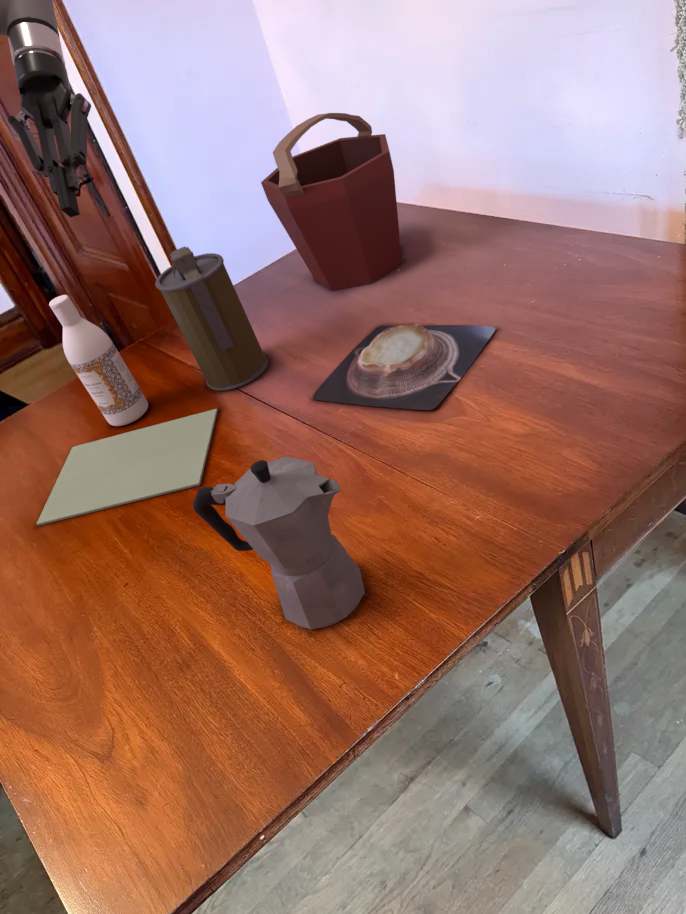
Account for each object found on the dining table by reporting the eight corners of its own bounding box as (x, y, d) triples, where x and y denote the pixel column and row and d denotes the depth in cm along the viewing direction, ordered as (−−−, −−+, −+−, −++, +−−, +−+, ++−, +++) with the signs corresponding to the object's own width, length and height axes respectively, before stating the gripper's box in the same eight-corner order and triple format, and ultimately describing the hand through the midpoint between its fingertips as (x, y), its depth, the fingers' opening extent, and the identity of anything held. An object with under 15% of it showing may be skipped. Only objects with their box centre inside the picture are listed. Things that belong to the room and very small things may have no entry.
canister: (201, 373, 123) (141, 257, 109) (259, 346, 124) (206, 229, 111) (214, 401, 115) (152, 279, 101) (276, 372, 116) (222, 249, 103)
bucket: (344, 310, 125) (290, 155, 109) (272, 289, 140) (215, 149, 123) (444, 243, 134) (409, 90, 118) (367, 229, 149) (326, 91, 132)
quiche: (498, 329, 108) (493, 304, 105) (434, 413, 97) (427, 387, 94) (379, 325, 118) (371, 302, 116) (309, 400, 107) (299, 377, 105)
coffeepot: (393, 560, 79) (339, 424, 67) (373, 631, 73) (310, 495, 61) (263, 565, 84) (192, 439, 72) (235, 632, 78) (151, 506, 66)
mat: (37, 526, 102) (36, 524, 102) (73, 448, 115) (72, 446, 115) (200, 485, 99) (198, 483, 99) (218, 410, 112) (216, 408, 112)
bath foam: (101, 429, 118) (25, 315, 104) (122, 403, 122) (52, 290, 109) (136, 426, 115) (63, 309, 102) (157, 399, 120) (90, 284, 106)
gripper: (92, 69, 119) (121, 211, 117) (18, 94, 120) (47, 234, 119) (63, 37, 111) (95, 188, 110) (-15, 64, 113) (16, 213, 112)
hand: (70, 211), depth 115 cm, fingers closed
